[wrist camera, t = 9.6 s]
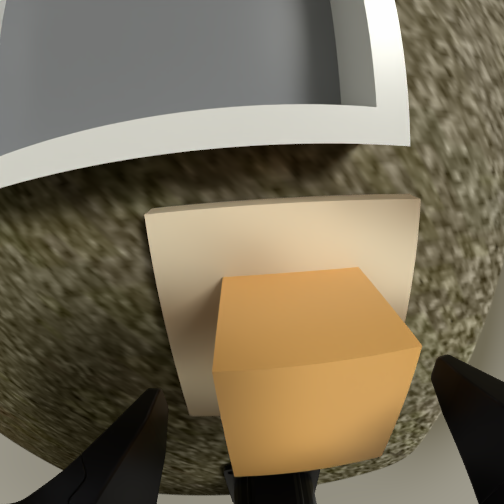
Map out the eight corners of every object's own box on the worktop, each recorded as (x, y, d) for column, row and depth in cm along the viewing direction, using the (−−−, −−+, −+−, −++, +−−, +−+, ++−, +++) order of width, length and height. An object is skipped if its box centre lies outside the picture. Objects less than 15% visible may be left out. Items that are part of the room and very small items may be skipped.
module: (346, 368, 13) (381, 456, 8) (234, 379, 13) (234, 476, 8) (358, 267, 11) (422, 345, 7) (222, 277, 11) (212, 371, 6)
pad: (380, 383, 15) (386, 395, 14) (192, 402, 15) (190, 416, 14) (408, 194, 11) (420, 198, 10) (152, 208, 11) (144, 214, 10)
